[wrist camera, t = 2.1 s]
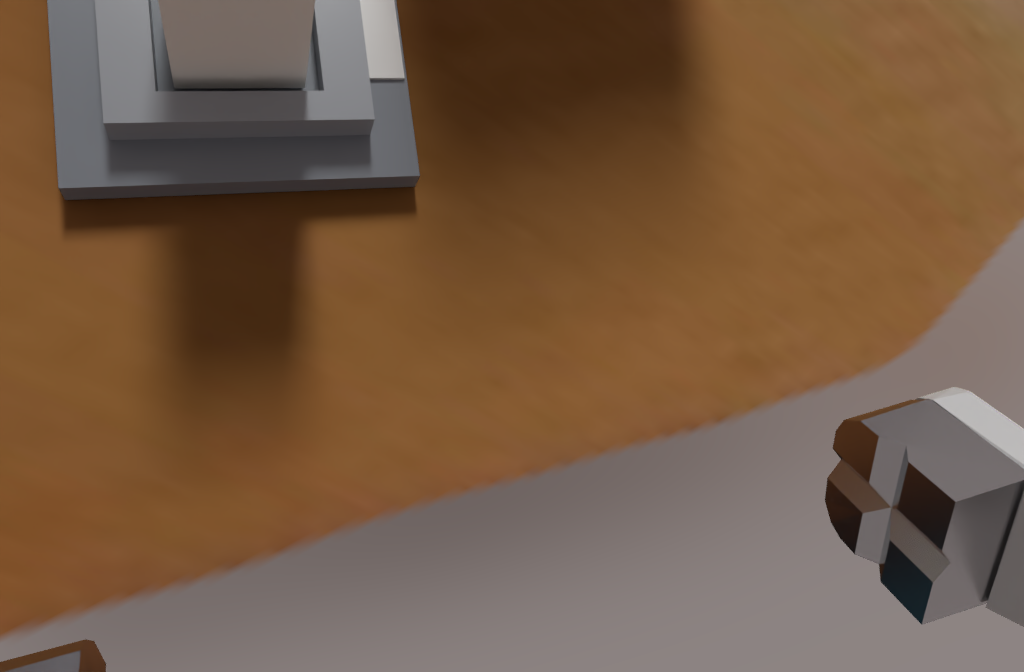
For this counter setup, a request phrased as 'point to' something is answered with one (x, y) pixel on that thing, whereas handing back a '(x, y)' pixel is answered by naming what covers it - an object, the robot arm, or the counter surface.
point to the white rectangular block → (238, 42)
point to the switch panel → (226, 109)
